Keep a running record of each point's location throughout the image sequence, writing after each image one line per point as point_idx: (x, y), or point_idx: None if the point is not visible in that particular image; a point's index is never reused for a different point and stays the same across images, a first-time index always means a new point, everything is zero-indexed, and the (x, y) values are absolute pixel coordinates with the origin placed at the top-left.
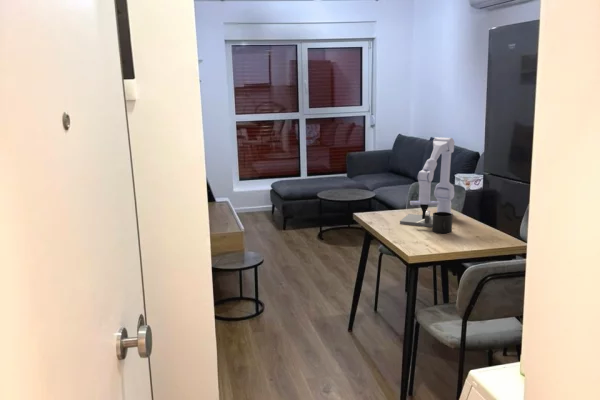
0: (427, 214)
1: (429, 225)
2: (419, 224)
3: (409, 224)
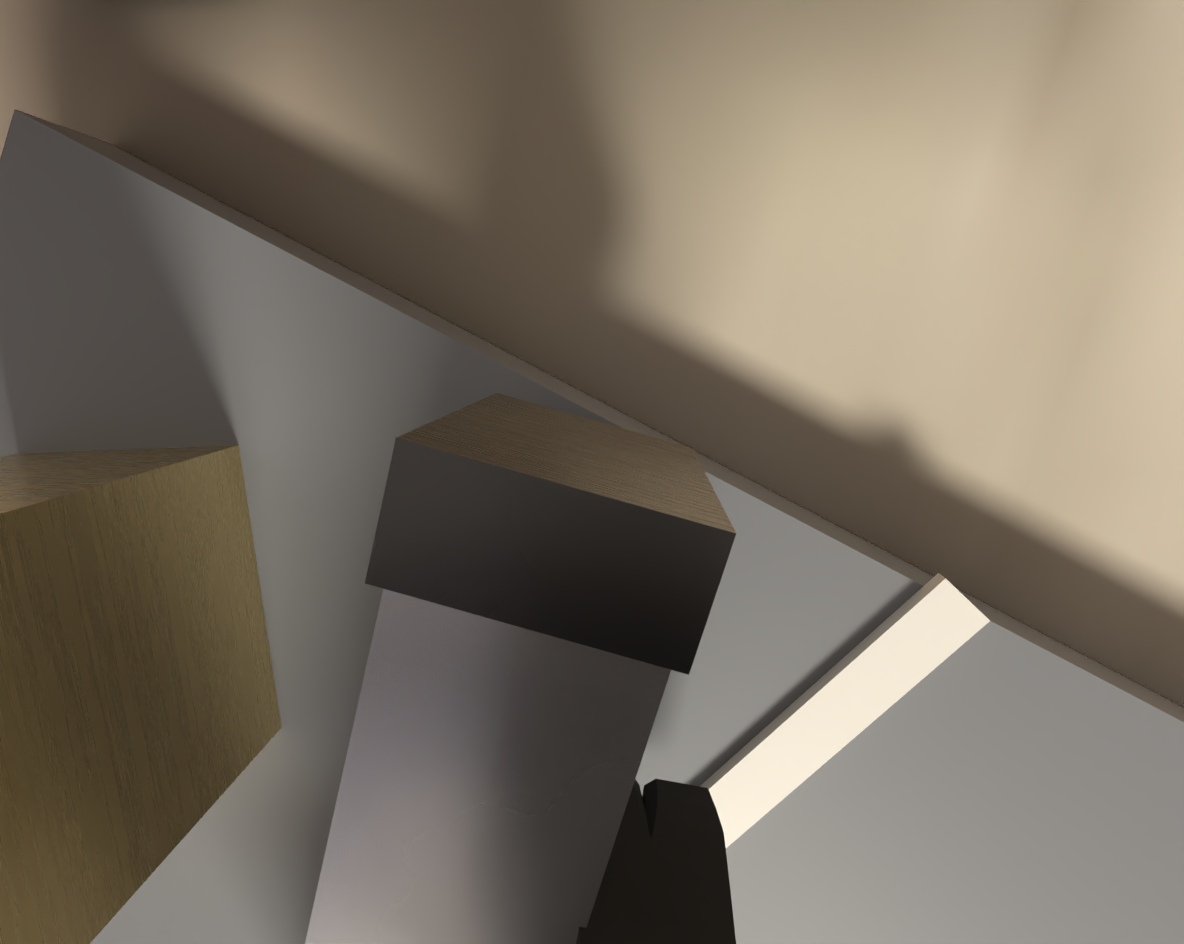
0: (419, 915)
1: (499, 354)
2: (841, 532)
3: (1141, 687)
